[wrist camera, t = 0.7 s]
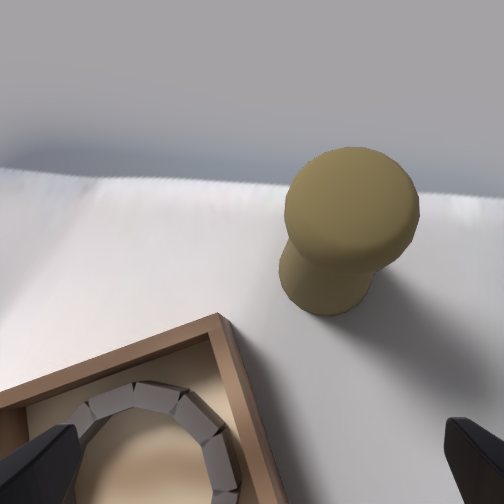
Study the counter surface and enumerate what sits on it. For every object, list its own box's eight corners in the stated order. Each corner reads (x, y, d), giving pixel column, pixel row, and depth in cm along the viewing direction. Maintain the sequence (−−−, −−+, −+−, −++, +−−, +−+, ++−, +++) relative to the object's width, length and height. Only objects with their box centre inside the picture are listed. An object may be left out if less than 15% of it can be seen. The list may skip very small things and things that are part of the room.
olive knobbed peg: (346, 214, 24) (393, 98, 13) (388, 294, 22) (482, 233, 11) (265, 246, 24) (248, 155, 13) (300, 330, 22) (314, 302, 11)
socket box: (312, 578, 18) (319, 636, 14) (56, 675, 18) (-7, 761, 14) (229, 320, 22) (217, 312, 18) (23, 396, 22) (-32, 403, 18)
